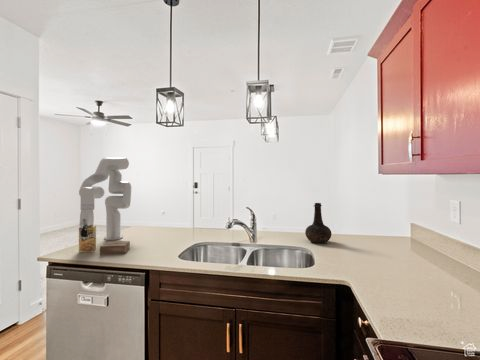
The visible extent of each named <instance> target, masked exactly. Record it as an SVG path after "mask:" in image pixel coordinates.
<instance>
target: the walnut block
mask: <svg viewBox="0 0 480 360" xmlns="http://www.w3.org/2000/svg"><path fill="white" fill-rule="evenodd" d="M130 245H131V241H130V240H122V241H121V240H119V241H116V240H115V241H114V240H112V241H106V242H103V244H101V245H100V246H99V255H100V256H105V255H126V253H128V251H129V250H130V249H131V247H130Z"/></svg>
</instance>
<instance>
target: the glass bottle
mask: <svg viewBox="0 0 480 360" xmlns="http://www.w3.org/2000/svg"><path fill="white" fill-rule="evenodd" d="M313 207H314V214H313V216H314V217H313V221H312V224H311V225H308V226H307V227H306V228H305V237H306V238H307V240H308V241H310V242H311V243H314V244H325V243H327V242H329V241H330V240H331V238H332V231H331V229H330V227H328V226H326V225H325V224H324V221H323V217H322V203H321V202H315V203H314V205H313Z"/></svg>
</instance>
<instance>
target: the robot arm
mask: <svg viewBox="0 0 480 360" xmlns="http://www.w3.org/2000/svg"><path fill="white" fill-rule="evenodd" d="M129 165H130V163H129V159H128V158H127V157H104V158H102V159H101V160H100V161H99V163H98V166H97V167H96V169H95V172H94V173H92V174H91V175H90V176H88V177H87V178H85V179H84V180H83V182H82V183H81V185H80V188H79V190H78V194H79V197H80V202H79V203H80V213H79V227H81V237H87V230H86V229H87V226H94V221H95V219H94V218H95V217H94V215H95V214H94V210H95V199H101V198H103V197H104V195H105V190H104V188H103V187H101V186H94V185H96V184H99V183H102V182H105V181H106V180H108V189H107V190H108V193H109V194H112V195H108V196H107V197H106V198H105V199H104V206H105V211H106V213H105V214H106V224H105V225H106V234H105V236H104V237H103V239H104V240H106V241H114V240H115V241H116V240H121V239H123V238H124V237H123V235H121V212H120V209H121V210H123V209H126V210H127V209H129V208H130V206H131V199H132V185H131V183H130V182H129V181H125V180H124V181H122V178H123V177H122V173H121V172H120V171H121V170H126V169H128V168H129Z"/></svg>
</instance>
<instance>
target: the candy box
mask: <svg viewBox="0 0 480 360" xmlns="http://www.w3.org/2000/svg"><path fill="white" fill-rule="evenodd" d="M86 230H87V237H81V227H80V226H79V227H78V253H96V251H97V226H96V225H93V226H87V229H86Z"/></svg>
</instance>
